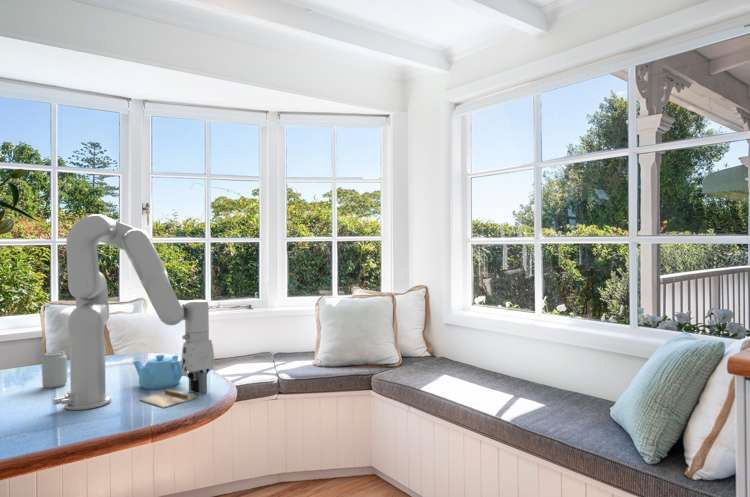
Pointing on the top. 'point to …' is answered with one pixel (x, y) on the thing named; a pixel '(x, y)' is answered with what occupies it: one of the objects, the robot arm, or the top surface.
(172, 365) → the teapot
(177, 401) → the wooden ridged plate
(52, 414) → the top surface
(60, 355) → the can
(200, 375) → the tile
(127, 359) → the top surface
